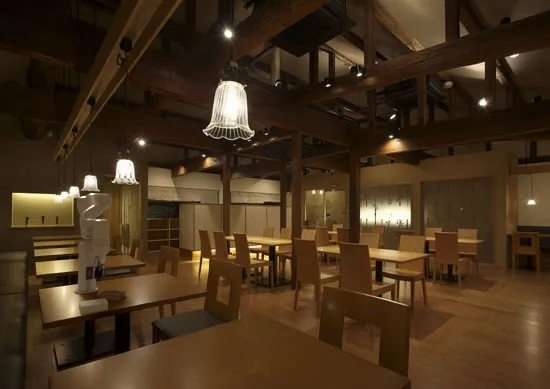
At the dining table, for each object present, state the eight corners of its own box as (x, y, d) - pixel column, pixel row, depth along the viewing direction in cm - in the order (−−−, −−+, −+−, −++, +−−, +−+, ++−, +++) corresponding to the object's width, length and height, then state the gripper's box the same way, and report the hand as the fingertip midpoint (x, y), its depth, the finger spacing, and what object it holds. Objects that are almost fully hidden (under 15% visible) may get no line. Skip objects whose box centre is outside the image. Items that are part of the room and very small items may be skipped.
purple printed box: (86, 266, 163) (105, 265, 167) (86, 268, 167) (104, 266, 171) (85, 279, 160) (105, 277, 165) (85, 280, 165) (104, 279, 169)
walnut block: (105, 296, 185) (105, 289, 185) (125, 296, 185) (125, 290, 185) (95, 301, 175) (96, 294, 175) (116, 301, 175) (117, 294, 175)
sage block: (78, 309, 161) (79, 301, 161) (104, 305, 168) (105, 298, 169) (80, 314, 153) (81, 306, 153) (107, 310, 160) (108, 302, 160)
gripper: (96, 241, 174) (95, 273, 173) (87, 244, 158) (86, 280, 157) (111, 240, 176) (109, 273, 175) (104, 244, 160) (102, 279, 159)
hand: (98, 276), depth 166 cm, fingers closed on purple printed box, 4 cm apart
